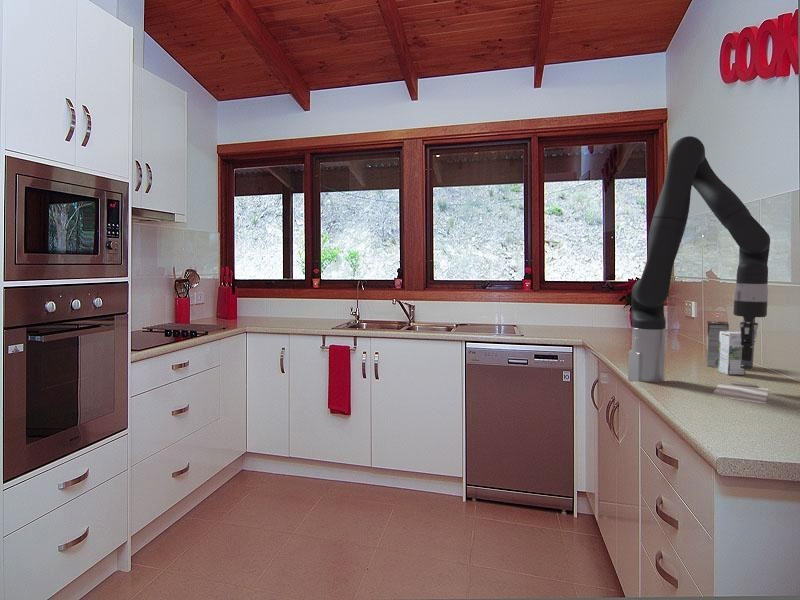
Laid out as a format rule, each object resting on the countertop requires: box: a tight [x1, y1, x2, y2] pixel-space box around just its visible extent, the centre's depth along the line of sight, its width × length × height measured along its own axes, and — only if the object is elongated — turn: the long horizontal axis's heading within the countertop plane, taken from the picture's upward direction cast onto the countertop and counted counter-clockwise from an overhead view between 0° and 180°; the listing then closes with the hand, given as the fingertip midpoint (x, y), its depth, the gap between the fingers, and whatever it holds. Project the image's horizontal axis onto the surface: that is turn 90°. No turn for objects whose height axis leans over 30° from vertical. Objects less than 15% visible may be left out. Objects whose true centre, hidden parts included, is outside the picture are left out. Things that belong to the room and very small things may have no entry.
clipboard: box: [711, 381, 770, 404], centre depth 127 cm, size 22×14×2 cm, turn 139°
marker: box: [740, 328, 755, 370], centre depth 129 cm, size 3×3×12 cm
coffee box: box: [705, 320, 730, 368], centre depth 168 cm, size 9×6×16 cm
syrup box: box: [717, 330, 747, 376], centre depth 154 cm, size 6×6×14 cm
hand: (746, 359), depth 129 cm, fingers closed on marker, 2 cm apart
